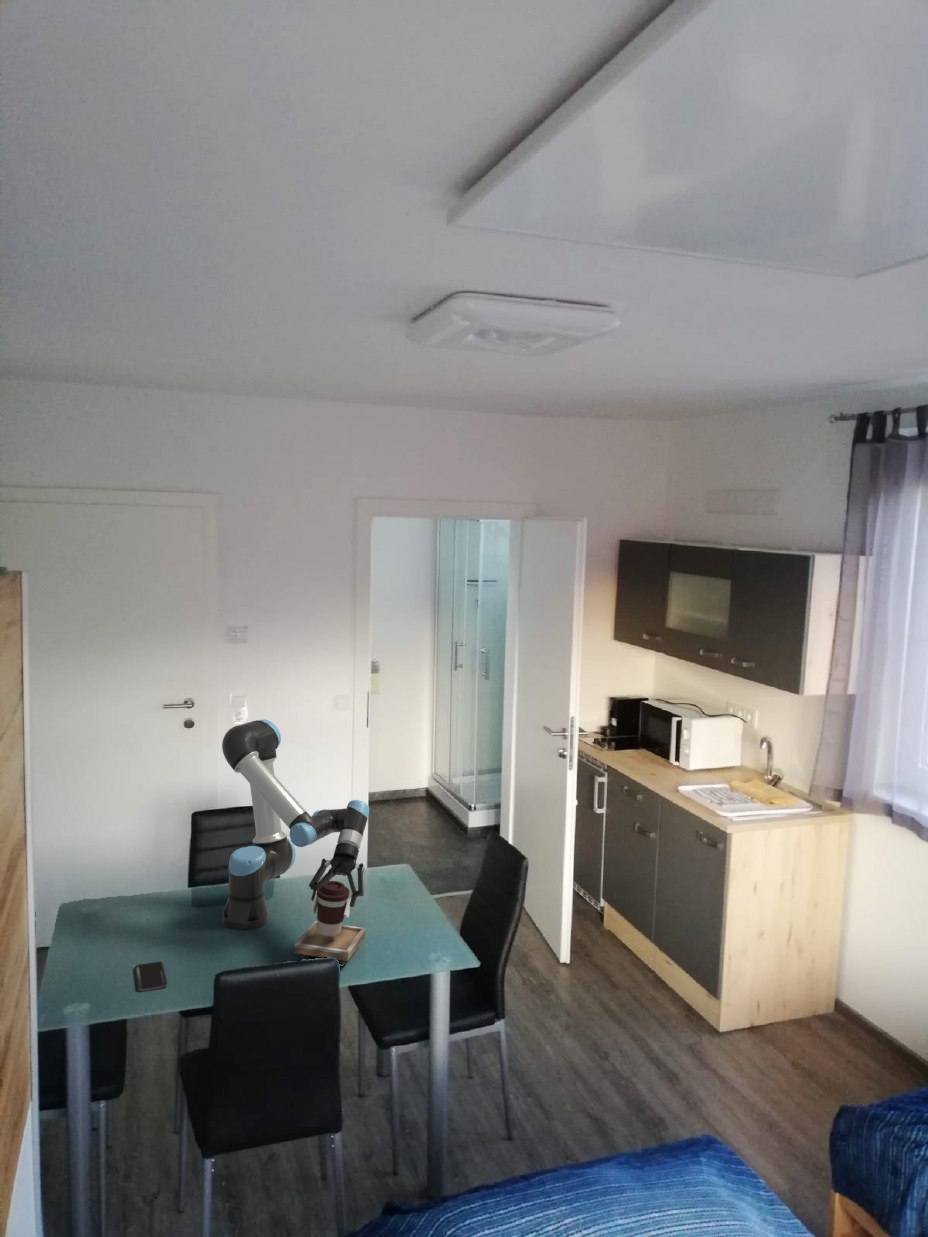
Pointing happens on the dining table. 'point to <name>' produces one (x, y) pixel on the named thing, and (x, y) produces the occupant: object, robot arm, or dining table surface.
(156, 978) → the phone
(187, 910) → the dining table surface
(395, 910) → the dining table surface
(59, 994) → the dining table surface
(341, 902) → the coffee cup
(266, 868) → the robot arm
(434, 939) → the dining table surface
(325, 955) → the shallow square tray
